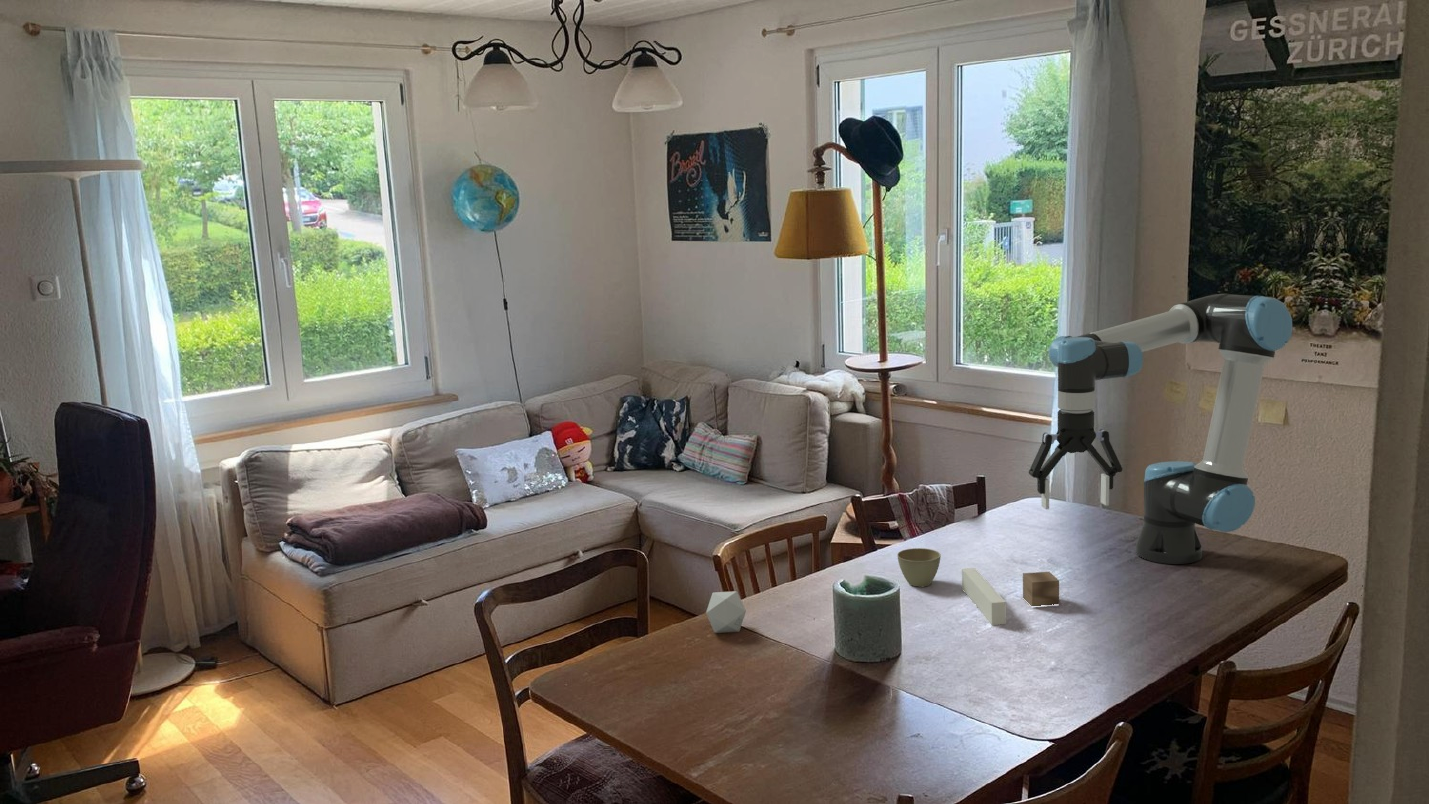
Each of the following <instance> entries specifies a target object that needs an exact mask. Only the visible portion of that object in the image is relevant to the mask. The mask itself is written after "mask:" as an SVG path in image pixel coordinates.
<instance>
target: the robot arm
mask: <svg viewBox="0 0 1429 804" xmlns="http://www.w3.org/2000/svg"><path fill="white" fill-rule="evenodd" d="M1292 332H1293V319H1292V316H1291V313H1290V311H1289V310H1288V307H1287V306H1286V304H1285V303H1284V302H1282V301H1281V300H1279V299H1277V298H1274V297H1269V296H1264V295H1245V294H1231V293H1219V294H1218V293H1217V294H1210V295H1206V296H1203V297H1199V298H1196V299H1192V300H1189V301H1185V302H1181V303H1178V304H1175V305H1173V306H1172V307H1171V308H1170V309H1169V310H1168V311H1165V312H1162V313H1158V314H1154V315H1151V316H1148V317H1143V318H1139V319H1137V320H1136V319H1135V320H1132V321H1129V322H1126V323H1122V324H1118V325H1116V326H1115V325H1114V326H1111V327H1108V328H1104V329H1101V330H1097V331H1093V332H1090V333H1085V334H1081V335H1078V336H1071V335H1060V336H1058V337H1055V339H1054V340H1052V342H1051V343H1050V345H1049V348H1048V357H1049V361H1050V363H1051V364H1052V365H1053V366H1055V367H1056V368H1057V408H1058V409H1059V410H1058V411H1057V432H1056V433H1055V434H1054V433H1048V432H1043V433H1042V440H1041V443H1040V444H1041V445H1040V446H1039V448H1038V451H1037V453H1036V455H1035V457H1034V459H1033V461H1032V464H1031V466H1030V469H1029V470H1028V475H1030V476H1031V477H1033V478H1035V479H1037V485H1036V487H1037V492H1038V493H1039V494H1040V495H1041V507H1042V508H1043V509H1045V510H1050V480H1049V479H1048V478H1047V477H1048V476H1049V475H1050V474H1051V472H1052V471H1053V469H1055V467H1056V466H1057V465H1058V463H1059V462H1060V461H1061V459H1063V457H1065V456H1066V455H1067V453H1069V454H1075V453H1085V452H1088V454H1089V455H1090V457H1092V458H1093V460H1094V461H1095V462H1096V463H1097V464H1098V466H1099V467H1100V468H1101V470H1102V471H1103V472H1104V473H1100V503H1101V504H1102V505H1104V506H1105V507H1106V506H1109V505H1110V490H1113V488H1114V477H1115V476H1116V474H1118V473H1122V471H1123V467H1122V465H1121V462H1120V461H1119V459H1118V456H1117V454H1116V452H1115V450H1114V448H1113V445H1112V443H1111V442H1110V441H1111V440H1110V433H1109V432H1108V431H1107V430H1105V429H1103V428H1101V429H1099V430H1098V431H1095V411H1094V410H1093V409H1094V408H1095V403H1096V402H1095V401H1096V400H1095V388H1096V386H1095V385H1096V381H1100V380H1107V379H1117V378H1126V377H1131V376H1134V375H1136V374H1138V373H1139V372H1140V371H1141V369H1142V368H1143V364H1144V354H1143V353H1144V352H1147V351H1152V350H1155V349H1157V348H1162V347H1164V346H1169V345H1172V344H1175V343H1179V344H1183V345H1188V344H1192V343H1197V342H1206V343H1207V342H1208V343H1217V344H1219V345H1218V350H1217V351H1218V353H1220V355H1221V357H1222V359H1223V362H1222V367H1221V371H1220V376H1219V381H1218V385H1217V390H1216V395H1215V400H1214V404H1213V409H1212V410H1213V411H1212V415H1211V420H1210V423H1209V424H1210V425H1209V429H1208V434H1207V438H1206V443H1205V448H1204V453H1203V456H1202V460H1201V461H1200V462H1198V463H1197V464H1196V463H1195V462H1192V461H1181V460H1180V461H1174V460H1173V461H1161V462H1156V463H1152V464H1149V465H1148V466H1147V467H1146V469H1145V471H1144V472H1145V473H1144V479H1143V524H1142V526H1141V529H1140V532H1139V534H1138V537H1137V540H1136V542H1135V554H1136V553H1137V554H1136V555H1137V556H1138V555H1139V556H1140V558H1141V557H1142V558H1141V559H1143V558H1144V560H1146V559H1147V560H1146V561H1149V562H1154V563H1158V564H1166V565H1168V564H1169V565H1184V564H1192V563H1196V562H1199V561H1200V560H1202V557H1203V546H1202V543H1201V541H1200V537H1199V534H1198V531H1197V527H1196V525H1199V526H1202V527H1205V528H1206V529H1209V530H1211V531H1212V530H1213V531H1218V532H1222V533H1230V532H1235V531H1237V530H1239V529H1240V528H1241V527H1242V526H1244V525H1245V524H1246V523H1247V522H1248V521H1249V520H1250V518H1251V516H1252V514H1253V512H1254V509H1255V506H1256V498H1255V495H1254V492H1253V489H1251V488H1250V487H1249V486H1248V481H1249V475H1248V474H1247V472H1246V471H1245V469H1244V465H1245V460H1246V454H1247V450H1248V445H1249V440H1250V436H1251V431H1252V427H1253V423H1254V417H1255V413H1256V407H1257V404H1258V403H1257V402H1258V399H1259V395H1260V388H1261V385H1262V384H1261V383H1262V380H1263V379H1262V378H1263V375H1264V369H1265V366H1266V364H1268V363H1270V362H1272V361H1273V360H1274V357H1275V353H1276V351H1278V350H1280V349H1282V348H1284V347H1286V344H1287V343H1288V342H1289V340H1290V339H1291V337H1292ZM1096 439H1097V440H1098V441H1099V442H1100V444H1101V446H1102V449H1103V450H1104V453H1105V454H1106V457H1107V459H1108V461H1109V463H1110V465H1111V466H1110V465H1109V463H1108V462H1107V461H1106V459H1104V457H1102V455H1101V454H1100V453H1099V452H1098V450H1097V449H1096V448H1095V446H1094V445H1093V444H1092V443H1093V442H1094V441H1095V440H1096ZM1055 441H1056V442H1057V443H1058V444H1057V445H1056V447H1055V448H1054V451H1053V452H1052V454H1050V456H1049V458H1048V459H1047V460H1046V458H1047V456H1048V454H1049V452H1050V449H1051V448H1052V445H1053V444H1054V442H1055ZM1139 556H1138V557H1139Z"/></svg>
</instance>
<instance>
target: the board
mask: <svg viewBox="0 0 1429 804" xmlns="http://www.w3.org/2000/svg"><path fill="white" fill-rule="evenodd" d="M962 589H963V590H964V591H965V593H966V594H967V595H968V596H967V595H966V594H965V593H964V594H965V595H966V596H967V597H968V599H969V598H970V599H971V600H972V601H971V600H970V599H969V600H970V601H971V602H972V604H973V605H974V604H976V606H977V607H978V608H979V609H978V608H977V607H976V606H975V607H976V608H977V609H978V611H979V610H980V611H981V612H982V613H983V614H982V613H981V612H980V611H979V612H980V613H981V614H982V616H983V617H984V616H985V617H986V618H987V619H986V618H985V617H984V618H985V619H986V621H989V622H988V623H989V624H990V626H1001V625H1000V624H1005V625H1006V624H1007V620H1006V619H1007V618H1006V617H1007V611H1006V608H1007V606H1006V604H1007V602H1006V600H1005V599H1004V598H1003V597H1002V596H1001V595H1000V594H999V593H998V592H997V590H996V589H995V588H994V587H993V586H992V584H991V583H989V581H987V579H985V578H984V576H983V575H982V574H981V573H980V572H979V571H978V570H977V569H976V568H974V567H971V568H970V567H969V568H961V590H962ZM963 590H962V591H963ZM964 591H963V592H964ZM998 624H999V625H998Z"/></svg>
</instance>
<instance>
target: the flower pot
mask: <svg viewBox="0 0 1429 804" xmlns="http://www.w3.org/2000/svg"><path fill="white" fill-rule="evenodd" d="M896 555H897V556H896V557H897V561H898V562H897V563H898V565H899V568H900V570H901V574H902V575H903V577H904V579H905V581H906V582H907V583H908V584H909V586H911V585H913V586H912V587H915V586H920V587H919V588H923V587H922V586H925V587H927V586H930V585H931V584H932V582H933V581H934V579H935V577H936V574H937V573H938V570H939V567H940V562H941V555H942V554H941V552H940V551H937V550H935V549H930V548H924V547H923V548H922V547H915V548H906V549H903V550H900V551H899V552H897V554H896ZM929 584H930V585H929Z"/></svg>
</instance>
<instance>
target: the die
mask: <svg viewBox="0 0 1429 804" xmlns="http://www.w3.org/2000/svg"><path fill="white" fill-rule="evenodd" d="M708 602H709V603H708V606H707V608H706V611H705V615H706V617H707V619H708V621H709V624H710V626H711V628H712V630H713V632H714V634H720V633H739V632H740V630H741V627H742V624H743V621H744V619H745V615H746V612H747V610H746V608H745V605H744V604H743V601H742V598H741V596H740V595H739V592H738V591H737V590H736V591H735V590H733V591H717V592H716V591H715V592H712V594H711V597H710V600H709V601H708Z"/></svg>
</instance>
